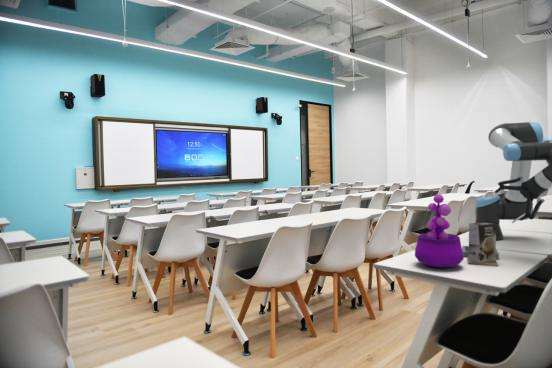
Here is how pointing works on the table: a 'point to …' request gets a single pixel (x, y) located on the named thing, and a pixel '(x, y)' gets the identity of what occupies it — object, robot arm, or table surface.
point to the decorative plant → (439, 240)
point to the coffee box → (482, 242)
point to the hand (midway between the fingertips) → (502, 209)
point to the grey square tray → (466, 252)
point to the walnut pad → (493, 263)
